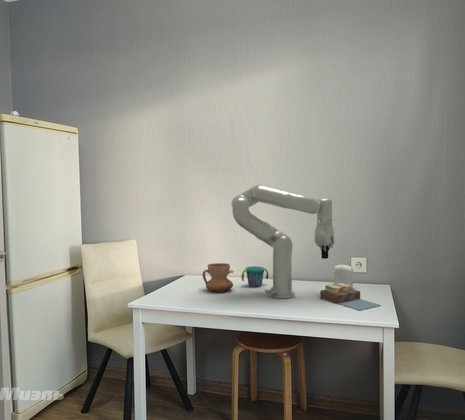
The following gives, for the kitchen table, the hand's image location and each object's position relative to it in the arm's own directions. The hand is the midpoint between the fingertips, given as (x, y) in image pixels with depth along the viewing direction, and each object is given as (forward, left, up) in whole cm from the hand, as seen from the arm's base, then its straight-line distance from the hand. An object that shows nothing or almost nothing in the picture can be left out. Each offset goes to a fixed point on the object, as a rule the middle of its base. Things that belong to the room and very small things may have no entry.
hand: (324, 258), depth 222 cm
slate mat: (0, -24, -19) cm, 30 cm away
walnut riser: (0, -11, -19) cm, 22 cm away
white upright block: (+18, +5, -19) cm, 27 cm away
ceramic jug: (-42, +38, -19) cm, 59 cm away
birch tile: (0, -9, -14) cm, 16 cm away
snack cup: (-20, +35, -19) cm, 44 cm away
